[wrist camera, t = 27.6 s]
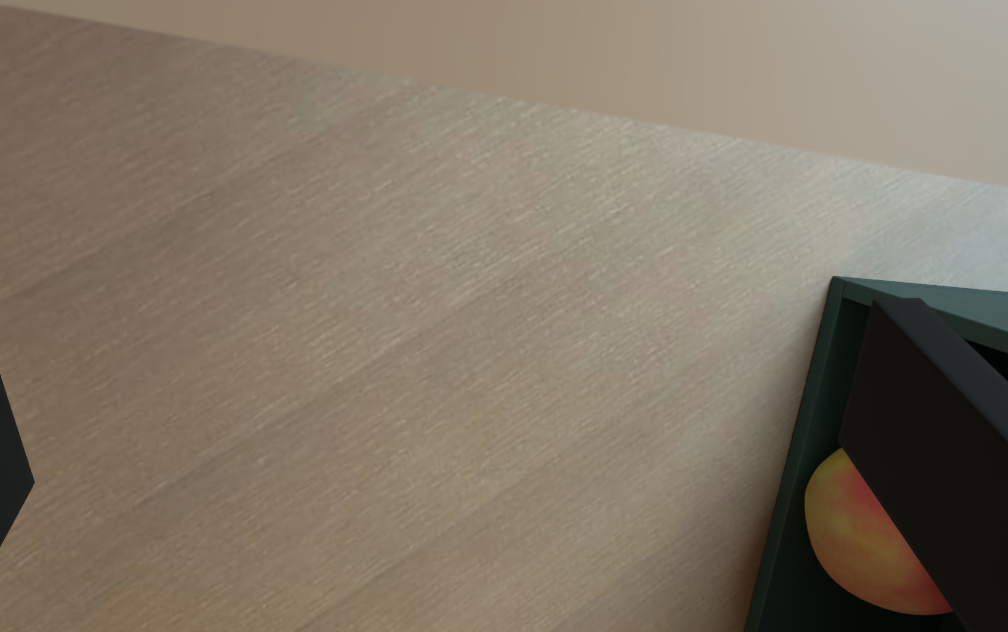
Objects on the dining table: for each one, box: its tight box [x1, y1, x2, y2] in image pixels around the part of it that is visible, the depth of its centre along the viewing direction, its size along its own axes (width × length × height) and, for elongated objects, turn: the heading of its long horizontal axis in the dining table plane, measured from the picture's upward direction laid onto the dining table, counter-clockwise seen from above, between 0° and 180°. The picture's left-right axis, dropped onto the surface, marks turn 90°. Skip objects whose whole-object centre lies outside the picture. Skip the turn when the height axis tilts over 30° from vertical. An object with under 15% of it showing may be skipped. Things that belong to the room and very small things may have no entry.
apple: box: [805, 448, 953, 615], centre depth 49 cm, size 10×10×10 cm
